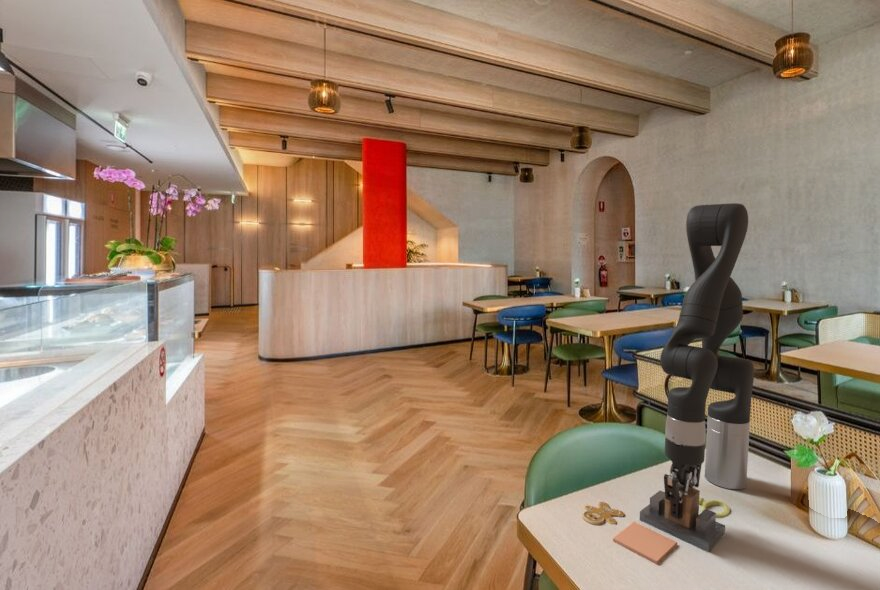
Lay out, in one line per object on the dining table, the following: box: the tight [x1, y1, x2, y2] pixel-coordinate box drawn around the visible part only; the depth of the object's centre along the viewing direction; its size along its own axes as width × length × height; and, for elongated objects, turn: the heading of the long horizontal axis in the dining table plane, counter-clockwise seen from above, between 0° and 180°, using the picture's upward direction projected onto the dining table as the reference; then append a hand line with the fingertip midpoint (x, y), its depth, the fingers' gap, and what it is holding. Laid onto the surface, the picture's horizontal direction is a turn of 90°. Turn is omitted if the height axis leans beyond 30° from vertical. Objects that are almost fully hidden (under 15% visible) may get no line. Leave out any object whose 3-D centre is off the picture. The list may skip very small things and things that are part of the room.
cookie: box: [581, 501, 626, 526], centre depth 99 cm, size 8×1×10 cm
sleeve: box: [665, 484, 701, 528], centre depth 94 cm, size 5×5×6 cm
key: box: [699, 497, 731, 519], centre depth 103 cm, size 7×12×2 cm, turn 50°
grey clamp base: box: [639, 490, 726, 553], centre depth 94 cm, size 9×14×8 cm, turn 39°
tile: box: [612, 521, 678, 565], centre depth 89 cm, size 9×9×1 cm
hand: (681, 512), depth 94 cm, fingers closed on sleeve, 5 cm apart
